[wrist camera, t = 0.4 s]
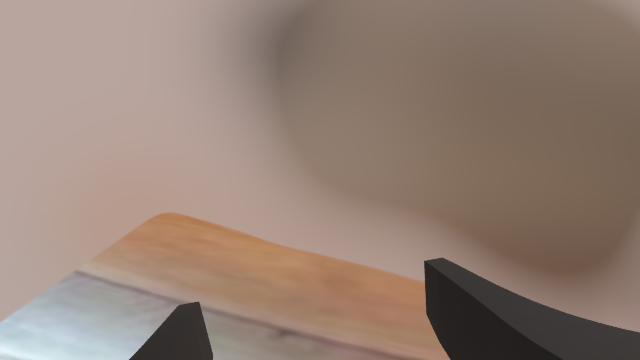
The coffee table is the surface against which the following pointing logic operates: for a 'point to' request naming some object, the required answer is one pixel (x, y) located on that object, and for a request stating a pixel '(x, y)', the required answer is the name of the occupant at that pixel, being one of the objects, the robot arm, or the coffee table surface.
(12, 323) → the coffee table surface
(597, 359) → the robot arm
